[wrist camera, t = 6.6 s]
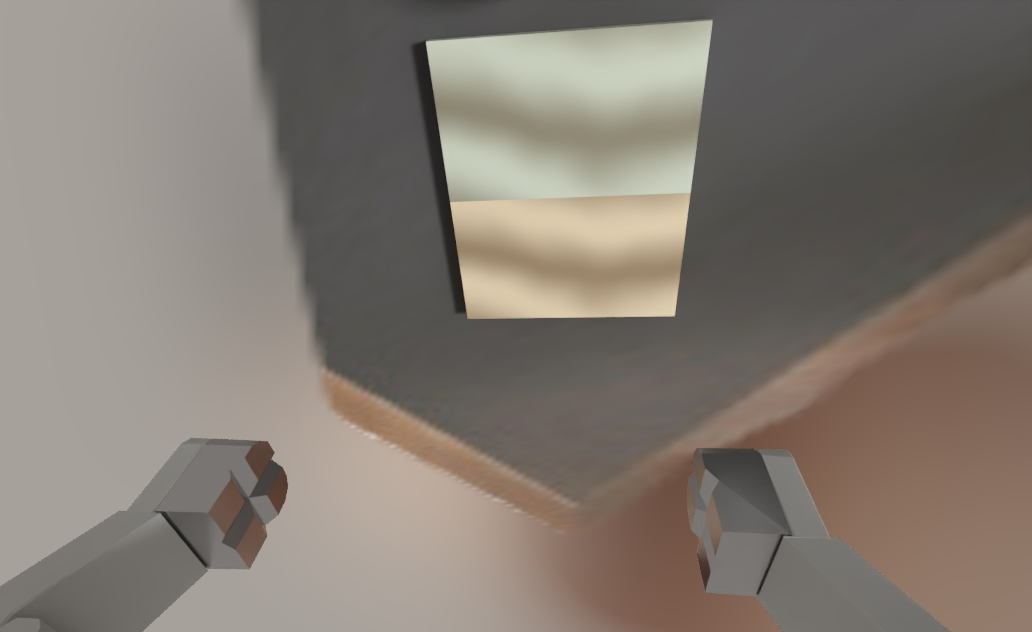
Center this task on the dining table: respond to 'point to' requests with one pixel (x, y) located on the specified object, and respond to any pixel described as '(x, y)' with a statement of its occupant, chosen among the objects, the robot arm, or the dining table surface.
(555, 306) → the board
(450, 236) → the dining table surface
